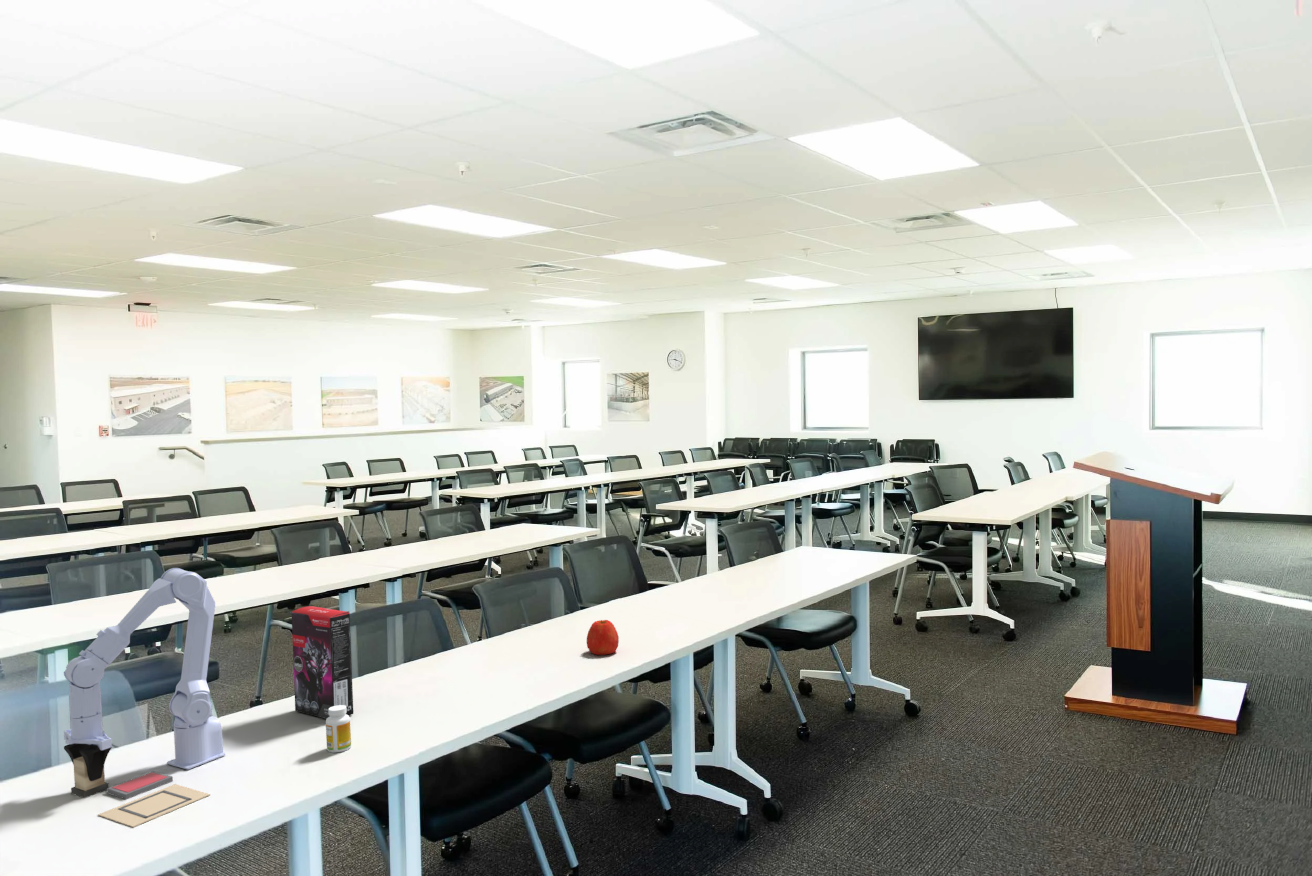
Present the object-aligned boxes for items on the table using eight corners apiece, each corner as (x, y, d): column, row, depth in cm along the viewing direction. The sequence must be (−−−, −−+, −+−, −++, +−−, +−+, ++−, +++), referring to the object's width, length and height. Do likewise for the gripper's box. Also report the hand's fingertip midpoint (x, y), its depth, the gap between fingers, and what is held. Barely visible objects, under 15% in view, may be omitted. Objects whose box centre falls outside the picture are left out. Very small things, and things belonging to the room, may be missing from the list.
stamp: (95, 784, 195) (94, 751, 194) (108, 788, 192) (107, 755, 192) (71, 793, 190) (69, 759, 190) (84, 797, 188) (82, 763, 187)
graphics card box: (293, 712, 239) (288, 610, 238) (315, 704, 244) (311, 604, 244) (333, 722, 229) (329, 616, 228) (356, 714, 235) (351, 610, 234)
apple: (606, 646, 295) (605, 614, 294) (625, 652, 287) (624, 619, 286) (580, 652, 288) (579, 620, 288) (599, 658, 280) (598, 625, 280)
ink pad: (153, 775, 198) (153, 770, 198) (172, 781, 195) (172, 776, 195) (107, 793, 190) (106, 788, 190) (126, 799, 186) (126, 794, 186)
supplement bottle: (354, 743, 214) (352, 703, 213) (347, 752, 208) (345, 711, 208) (331, 744, 214) (329, 704, 213) (323, 753, 208) (321, 712, 208)
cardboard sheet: (175, 784, 193) (175, 783, 193) (210, 795, 187) (210, 793, 187) (98, 815, 179) (98, 813, 179) (133, 827, 173) (133, 826, 173)
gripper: (47, 715, 191) (50, 778, 191) (85, 725, 184) (88, 790, 184) (82, 705, 197) (85, 766, 197) (120, 714, 190) (123, 777, 190)
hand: (89, 777), depth 191 cm, fingers closed on stamp, 4 cm apart
